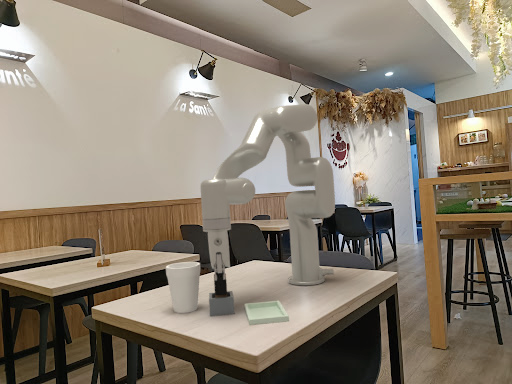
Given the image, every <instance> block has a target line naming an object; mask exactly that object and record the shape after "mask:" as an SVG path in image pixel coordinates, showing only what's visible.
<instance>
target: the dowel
mask: <svg viewBox="0 0 512 384" xmlns="http://www.w3.org/2000/svg"><path fill="white" fill-rule="evenodd" d="M225 279H226V280H227V274H226V272H225ZM213 280H215V273H214V274H213ZM220 297H227V295H218V296H216V295H215V298H220Z"/></svg>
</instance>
